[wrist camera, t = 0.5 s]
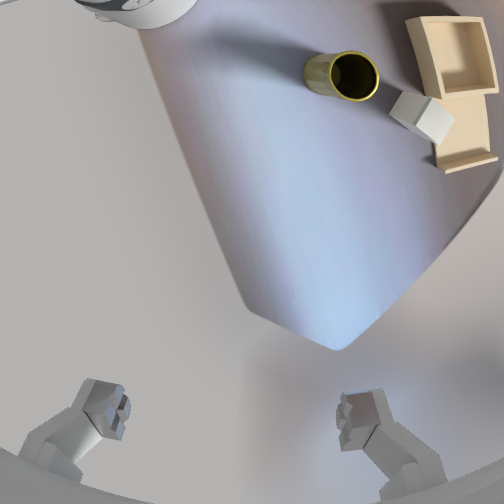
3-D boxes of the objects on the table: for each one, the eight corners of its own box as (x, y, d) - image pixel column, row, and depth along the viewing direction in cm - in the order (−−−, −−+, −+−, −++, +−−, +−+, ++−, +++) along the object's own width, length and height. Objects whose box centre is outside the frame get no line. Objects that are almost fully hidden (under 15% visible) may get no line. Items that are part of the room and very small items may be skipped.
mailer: (404, 20, 30) (419, 16, 26) (464, 19, 27) (482, 17, 23) (436, 167, 42) (451, 178, 38) (488, 154, 40) (504, 164, 35)
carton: (388, 114, 38) (415, 125, 31) (402, 90, 36) (432, 97, 29) (410, 131, 39) (439, 146, 32) (424, 108, 37) (455, 119, 30)
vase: (327, 103, 38) (356, 118, 26) (293, 75, 36) (309, 76, 24) (354, 74, 36) (395, 78, 24) (321, 45, 34) (350, 34, 22)
